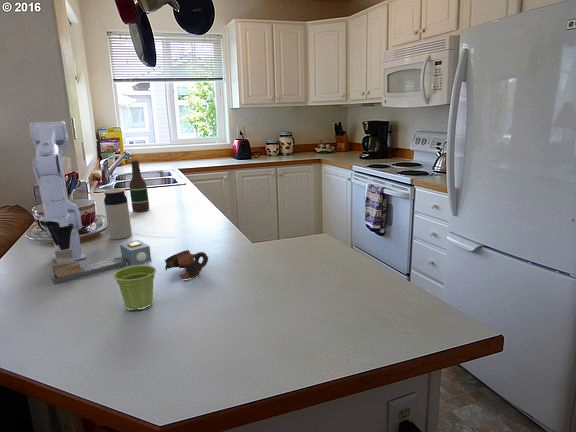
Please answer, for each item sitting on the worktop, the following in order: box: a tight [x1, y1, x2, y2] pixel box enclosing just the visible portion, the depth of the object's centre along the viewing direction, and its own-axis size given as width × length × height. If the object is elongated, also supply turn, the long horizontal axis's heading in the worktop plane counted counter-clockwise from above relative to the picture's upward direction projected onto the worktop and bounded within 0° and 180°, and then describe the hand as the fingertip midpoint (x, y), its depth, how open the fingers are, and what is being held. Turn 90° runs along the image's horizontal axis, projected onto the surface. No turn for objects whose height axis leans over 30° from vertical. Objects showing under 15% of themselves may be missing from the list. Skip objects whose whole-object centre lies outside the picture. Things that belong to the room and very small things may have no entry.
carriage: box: [51, 248, 81, 278], centre depth 120 cm, size 6×6×6 cm
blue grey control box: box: [119, 239, 152, 267], centre depth 133 cm, size 9×6×5 cm, turn 40°
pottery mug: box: [164, 249, 209, 280], centre depth 120 cm, size 12×10×8 cm
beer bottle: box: [129, 159, 150, 213], centre depth 200 cm, size 8×8×24 cm
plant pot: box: [113, 264, 157, 309], centre depth 100 cm, size 9×9×9 cm
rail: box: [49, 256, 128, 285], centre depth 125 cm, size 5×20×2 cm, turn 130°
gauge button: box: [128, 242, 141, 248], centre depth 133 cm, size 3×3×4 cm
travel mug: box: [103, 187, 133, 240], centre depth 158 cm, size 8×8×18 cm
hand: (62, 246), depth 119 cm, fingers open, 5 cm apart
